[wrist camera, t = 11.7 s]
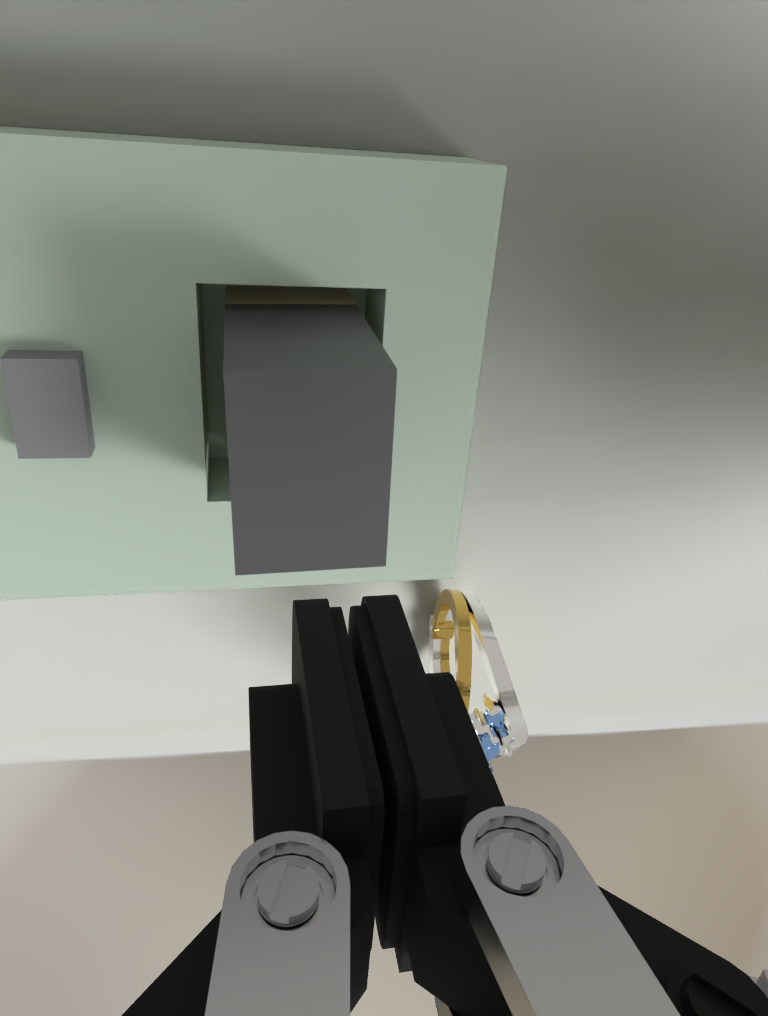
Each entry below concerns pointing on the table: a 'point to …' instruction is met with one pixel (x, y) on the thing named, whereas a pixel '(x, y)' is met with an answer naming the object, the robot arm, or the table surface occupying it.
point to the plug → (306, 430)
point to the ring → (458, 617)
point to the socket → (216, 343)
